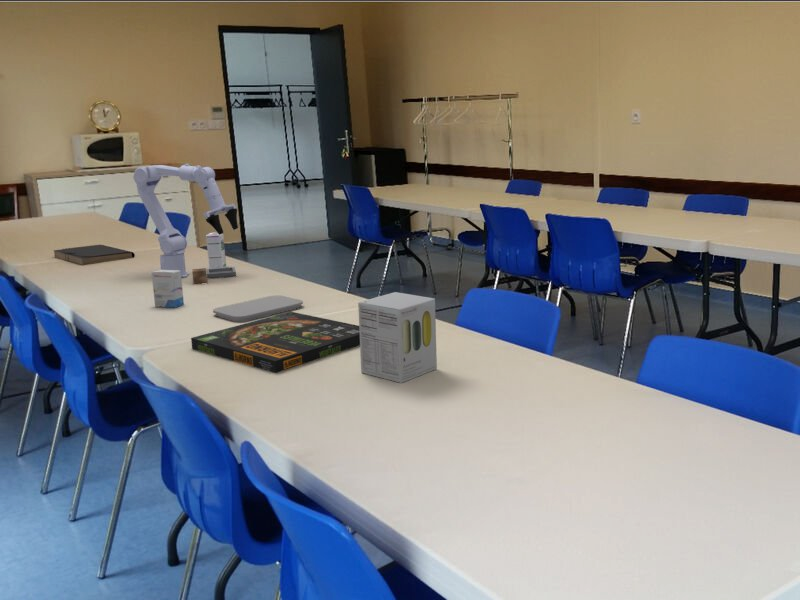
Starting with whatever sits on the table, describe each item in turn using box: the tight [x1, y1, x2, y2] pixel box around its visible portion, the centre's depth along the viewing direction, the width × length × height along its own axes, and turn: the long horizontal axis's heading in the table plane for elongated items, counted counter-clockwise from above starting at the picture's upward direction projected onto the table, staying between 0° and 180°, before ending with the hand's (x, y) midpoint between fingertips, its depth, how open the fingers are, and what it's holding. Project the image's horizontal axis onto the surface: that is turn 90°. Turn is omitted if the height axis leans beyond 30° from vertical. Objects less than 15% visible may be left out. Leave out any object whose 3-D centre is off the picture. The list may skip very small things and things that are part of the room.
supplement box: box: [357, 291, 438, 384], centre depth 192 cm, size 13×13×18 cm
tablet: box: [212, 294, 304, 323], centre depth 258 cm, size 16×26×2 cm, turn 135°
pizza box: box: [190, 311, 360, 374], centre depth 220 cm, size 35×35×4 cm
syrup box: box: [205, 231, 227, 269], centre depth 331 cm, size 6×6×14 cm
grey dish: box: [206, 266, 237, 279], centre depth 318 cm, size 11×11×2 cm
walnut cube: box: [191, 267, 208, 285], centre depth 305 cm, size 5×5×5 cm
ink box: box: [151, 269, 185, 308], centre depth 268 cm, size 9×5×12 cm, turn 71°
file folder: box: [53, 244, 136, 266], centre depth 369 cm, size 33×4×24 cm
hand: (228, 231), depth 306 cm, fingers open, 7 cm apart
